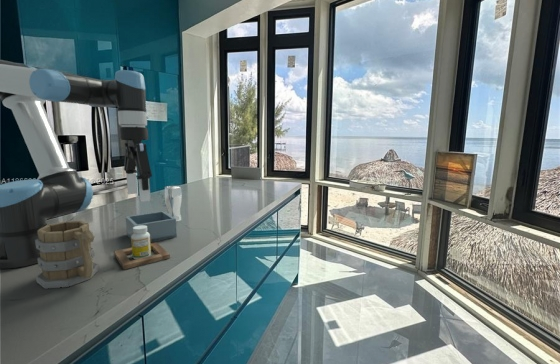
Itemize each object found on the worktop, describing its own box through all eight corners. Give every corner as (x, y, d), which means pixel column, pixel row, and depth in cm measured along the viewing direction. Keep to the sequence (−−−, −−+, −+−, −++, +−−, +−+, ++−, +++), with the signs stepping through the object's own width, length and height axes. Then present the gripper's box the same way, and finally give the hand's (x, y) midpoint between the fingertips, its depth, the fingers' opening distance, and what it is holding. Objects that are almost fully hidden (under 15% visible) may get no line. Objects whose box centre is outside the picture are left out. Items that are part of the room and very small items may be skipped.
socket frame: (123, 269, 83) (123, 265, 83) (114, 254, 93) (114, 251, 92) (169, 258, 91) (169, 254, 91) (156, 245, 101) (156, 242, 101)
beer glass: (179, 222, 127) (177, 188, 125) (163, 222, 127) (161, 188, 125) (184, 218, 134) (183, 185, 132) (169, 217, 134) (168, 185, 132)
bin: (136, 245, 101) (134, 225, 100) (126, 234, 111) (125, 216, 110) (176, 236, 110) (175, 218, 108) (164, 227, 120) (163, 210, 119)
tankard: (31, 279, 77) (24, 224, 74) (84, 262, 87) (79, 213, 85) (63, 304, 66) (56, 240, 64) (120, 281, 76) (115, 226, 74)
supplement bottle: (145, 260, 89) (143, 230, 87) (128, 259, 89) (126, 229, 88) (154, 253, 94) (152, 224, 93) (138, 252, 95) (136, 224, 93)
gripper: (161, 126, 79) (165, 202, 82) (135, 127, 98) (140, 189, 101) (130, 125, 74) (136, 206, 78) (110, 127, 93) (115, 192, 96)
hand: (138, 197), depth 89 cm, fingers open, 13 cm apart
